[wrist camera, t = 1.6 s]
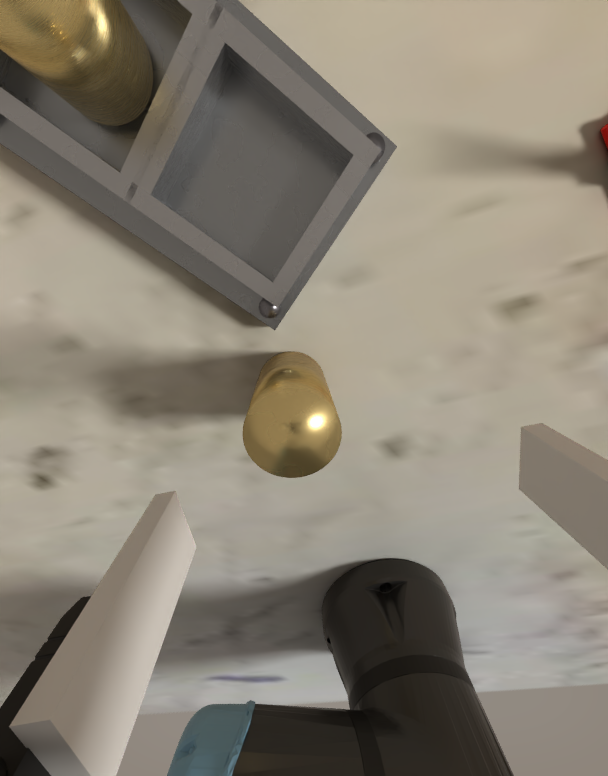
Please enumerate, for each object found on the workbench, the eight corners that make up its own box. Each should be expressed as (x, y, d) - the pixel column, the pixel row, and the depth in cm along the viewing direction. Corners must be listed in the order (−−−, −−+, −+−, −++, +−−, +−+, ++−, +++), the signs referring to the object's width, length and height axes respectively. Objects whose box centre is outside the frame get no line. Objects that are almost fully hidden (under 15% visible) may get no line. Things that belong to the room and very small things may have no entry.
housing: (276, 326, 27) (265, 361, 16) (-17, 126, 22) (-348, -38, 11) (388, 157, 23) (480, 42, 12) (69, -131, 18) (-295, -805, 7)
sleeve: (300, 426, 30) (304, 493, 21) (245, 392, 29) (224, 447, 19) (338, 375, 29) (361, 423, 19) (282, 338, 27) (278, 369, 18)
